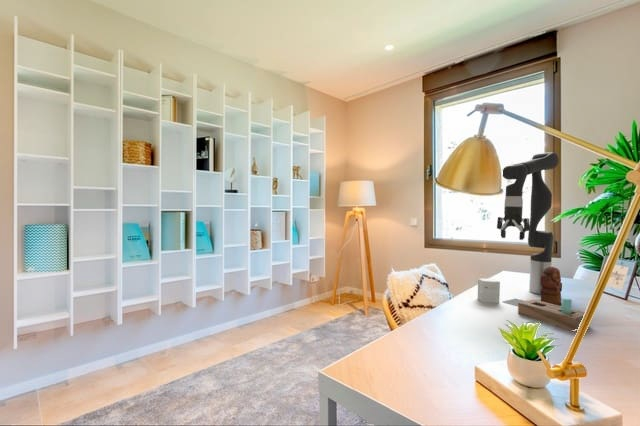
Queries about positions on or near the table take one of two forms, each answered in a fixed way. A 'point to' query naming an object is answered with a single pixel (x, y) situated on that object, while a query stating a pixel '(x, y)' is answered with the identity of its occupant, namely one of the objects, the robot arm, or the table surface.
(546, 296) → the wooden figurine
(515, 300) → the mat
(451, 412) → the table surface
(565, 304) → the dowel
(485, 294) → the small box
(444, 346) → the table surface
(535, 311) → the socket block
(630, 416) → the table surface
